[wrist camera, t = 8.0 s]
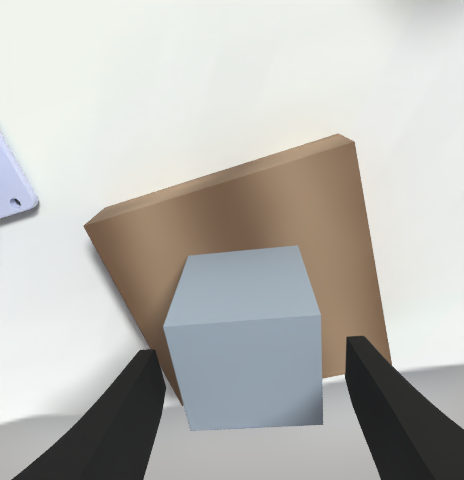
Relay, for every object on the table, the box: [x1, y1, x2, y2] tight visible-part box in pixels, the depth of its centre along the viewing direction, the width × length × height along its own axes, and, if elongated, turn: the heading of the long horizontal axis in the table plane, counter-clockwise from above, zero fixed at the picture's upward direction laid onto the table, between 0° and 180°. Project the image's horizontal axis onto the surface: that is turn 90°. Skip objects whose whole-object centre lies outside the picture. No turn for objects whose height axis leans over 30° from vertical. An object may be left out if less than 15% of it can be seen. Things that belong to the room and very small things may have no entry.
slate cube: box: [163, 245, 323, 431], centre depth 14 cm, size 5×5×5 cm
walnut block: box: [84, 134, 392, 406], centre depth 17 cm, size 12×12×3 cm
